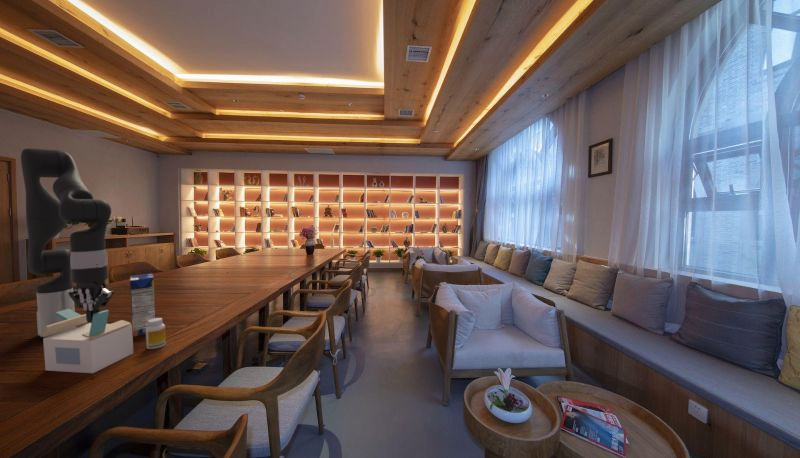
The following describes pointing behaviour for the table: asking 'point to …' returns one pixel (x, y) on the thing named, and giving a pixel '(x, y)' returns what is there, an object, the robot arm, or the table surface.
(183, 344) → the table surface
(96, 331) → the flap
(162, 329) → the supplement bottle
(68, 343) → the carton
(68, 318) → the flap
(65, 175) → the robot arm
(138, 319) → the beverage box
